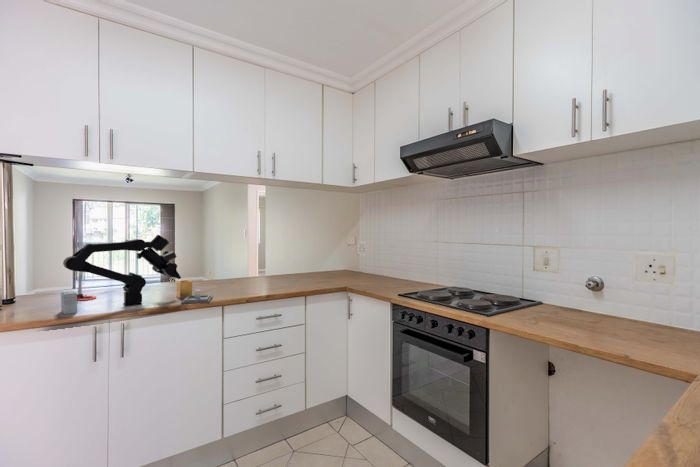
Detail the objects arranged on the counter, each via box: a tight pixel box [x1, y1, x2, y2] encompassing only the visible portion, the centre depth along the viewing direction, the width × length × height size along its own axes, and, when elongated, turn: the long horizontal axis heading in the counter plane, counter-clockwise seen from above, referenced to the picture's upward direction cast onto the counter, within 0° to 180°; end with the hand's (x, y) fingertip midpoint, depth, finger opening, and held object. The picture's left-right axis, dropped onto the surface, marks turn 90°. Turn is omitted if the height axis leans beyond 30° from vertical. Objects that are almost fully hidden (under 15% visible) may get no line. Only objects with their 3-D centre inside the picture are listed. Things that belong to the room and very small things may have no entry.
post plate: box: [180, 289, 213, 305], centre depth 165 cm, size 12×12×5 cm
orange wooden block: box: [176, 279, 193, 299], centre depth 173 cm, size 6×6×8 cm
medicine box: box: [60, 290, 78, 315], centre depth 140 cm, size 8×4×9 cm, turn 48°
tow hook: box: [77, 273, 97, 302], centre depth 165 cm, size 8×13×9 cm
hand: (176, 277), depth 170 cm, fingers open, 9 cm apart
